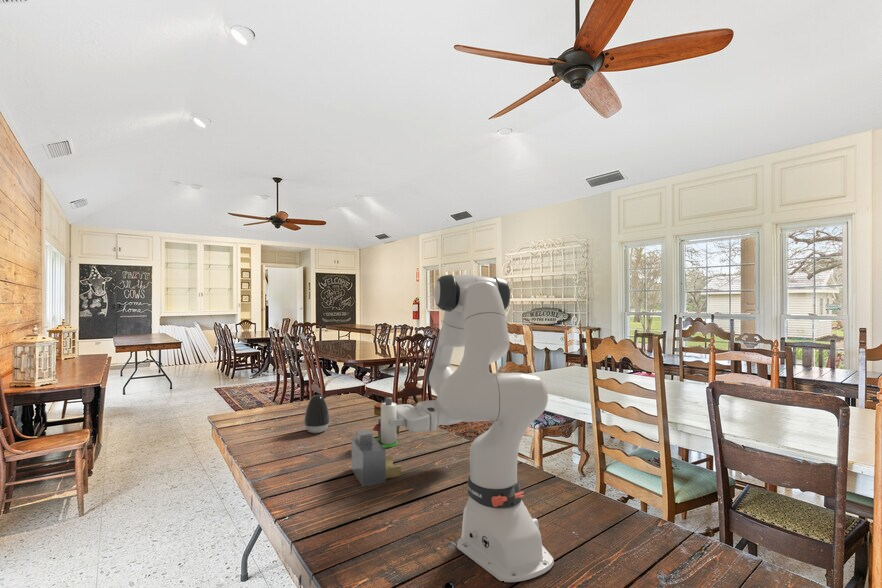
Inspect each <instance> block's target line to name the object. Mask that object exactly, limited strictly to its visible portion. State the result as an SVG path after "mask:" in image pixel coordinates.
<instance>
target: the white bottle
mask: <svg viewBox="0 0 882 588" xmlns="http://www.w3.org/2000/svg"><path fill="white" fill-rule="evenodd" d="M385 402H386V403H382V402H381V403H382V404H381V416H380V419H381V443H383V444H392V443H395V442H396V440H397V433H396V426H390V425H389V419H396V405H397V403H396V402H393V398H392V397H385Z"/></svg>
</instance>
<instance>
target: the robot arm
mask: <svg viewBox="0 0 882 588" xmlns="http://www.w3.org/2000/svg"><path fill="white" fill-rule="evenodd" d="M433 297H434V301H435V304H436V307H438V309H439V310H442V311H444V313H443V320H442V327H441V329H440V330H439V332H438V335H437V339H436V343H435V347H434V352H433V357H432V361H431V362H430V365H429V367H428V369H427V371H426V374H425V381H426V383H427V384H428V386H429V387H430V388H431V389H432V390H433V392H434V393H435V394H436V399H435V400H433V399H432V400H424V401H418V402H417V404H416V405H415V406H414V405H412V404H410V403H406V404H405V403H404V404H402V403H401V404H396V419H389V425H390V426H400V427H404V428H405V429H407V430H408V432H411V433H423V432H430V433H433V432H436V431H437V427H438V426H451V425H455V424H459V423H462V422H468V423H469V422H470V423H473V422H493V423H492V425H491V426H490V428H489V429H487V430H486V431H485V432H484V433H482V434H480V435H478V436H477V437H475V439H473V442H472V443H471V445H470V447H469V475H468V478H467V483H466V484H467V486H466V487H467V494H468V498H467V502H466V503H465V506H464V508H463V515H462V525H461V526H462V527H461V536H460V537H459V539H458V540H457V541H456V542H457V545H456V547H457V549H458V550H459V551H461V553H463V554H464V555H466V556H467V557H468V558H470V559H471V560H472V561H474V562H475V563H476V564H477V565H479V566H480V567H481V568H483V569H484V570H485V571H486V572H488V573H489V574H490V575H492V576H493V577H495V578H496V579H497V580H498V581H500V582H502V581H504V582H503V583H517V582H523V581H528V580H531V579H534V578H536V577H540V576H542V575H543V574H545V573H547V572H548V571H550V570H551V569H552V568H553V566H554V563H555V561H554V558H553V556H552V555H551V553H550V552H549V551H548V550H547V549H546V547H545V546H544V545H543V542H542V541H543V540H542V534H541V531H540V530H539V528H540V523H539V521H538V518H536V517H532V516H531V514H530V512H529V510H528V508H527V506H526V505H525V503H524V501H523V500H522V499H523V497H524V496H525V495H524V493H525V492H524V491H521V484H520V482H519V479H518V459H519V458H518V456H519V448H520V445H521V442H522V439H523V437H524V434H525V433H526V431H527V430H528V429H529V427H530V426H531V424H532V423H534V421H535V420H536V419H538V418H539V417H540V416H542V414H543V413H544V412H545V411H546V408H547V406H548V402H549V401H548V400H549V395H548V390H547V386H546V385H545V382H543V380H542V379H541V378H540V377H539V376H538V375H533V374H528V373H525V372H524V373H522V372H499V373H498V372H490V365H491V364H493V363H495V362H497V361H498V360H501V359H502V358H503V357H505V356H506V355H507V353H508V351H509V350H510V347H511V346H510V335H509V330H508V322H507V321H508V320H507V315H506V309H507V308H509V305H510V300H511V289H510V285H509V284H508V282H507V281H506V280H505V279H502V278H500V277H489V276H483V275H474V274H456V275H453V274H446V275H441V276H440V277H439V278H438V279H437V281H436V283H435V286H434V289H433ZM462 347H463V348H464V351H463V356H462V359H461V362H460V364H459V365H458V367H456V369H455V370H454V369H453V367H452V364H451V360H452V356H453V351H454V348H462Z"/></svg>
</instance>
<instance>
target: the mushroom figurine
mask: <svg viewBox="0 0 882 588" xmlns="http://www.w3.org/2000/svg"><path fill="white" fill-rule="evenodd" d="M382 403H386V401H384V402H378V403H375V404H374V405H373V414H374V416H376V417H377V416H378V417H381V404H382ZM377 420H378V423H376V424H375V425H374V427H373V429H372V430H373V431H374V432H377V435H378V437H377V438H376V437H375V439H376V440H377V441H378V442H379V443H380V444H381V446H382V447H383V448H384V449H388V448H393V447H396V446H397V445H398V440H397V439H396V442H395V443H392V444H383V443H381V418H379V419H377ZM400 428H401V426H396V435H397V436H400Z"/></svg>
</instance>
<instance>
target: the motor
mask: <svg viewBox="0 0 882 588" xmlns="http://www.w3.org/2000/svg"><path fill="white" fill-rule="evenodd" d="M386 451H387V450H386V448H383V447H382V446H381V444H380V443H379V442H378V441H377V440H376V437H374V436H373V433H372V432H371V430H369V429H368V428H367V429H357V430H355V438H352V439H351V471H352V472H353V474H354V476H355V478H356V479H357V481H358V482H359V483H360V485H361V486H362V487H363V488H364V487H365V488H366V487H370V486H375V485H380V484H385V483H386V479H390V478H395V477H401V476H402V465H401V464H397V465H394V458H393V456H386V455H387V453H386Z"/></svg>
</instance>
